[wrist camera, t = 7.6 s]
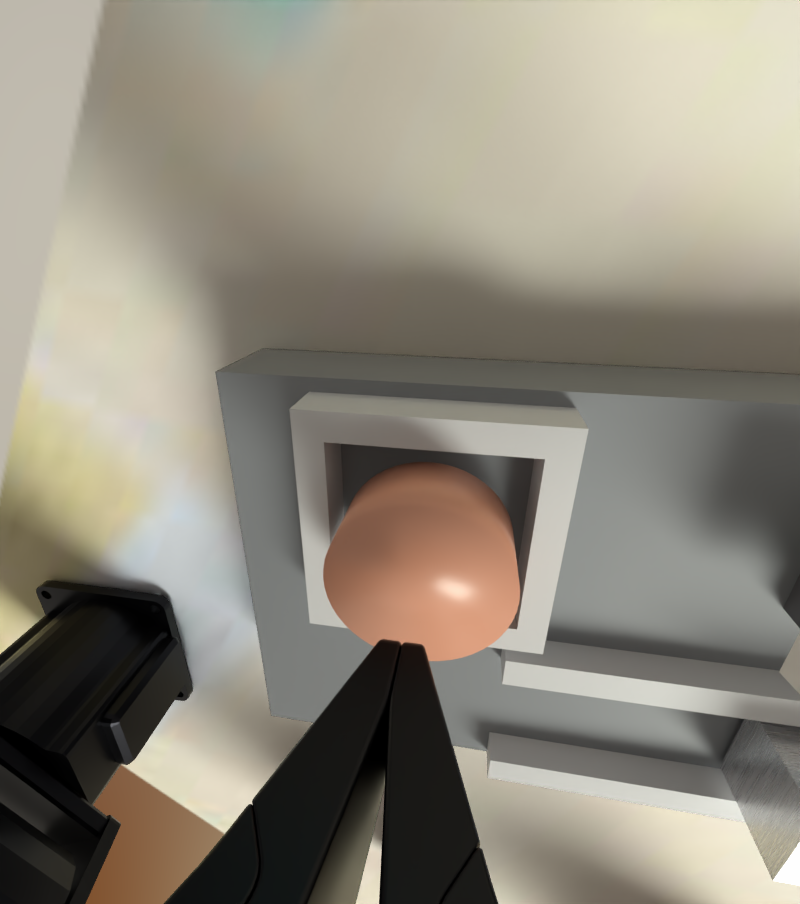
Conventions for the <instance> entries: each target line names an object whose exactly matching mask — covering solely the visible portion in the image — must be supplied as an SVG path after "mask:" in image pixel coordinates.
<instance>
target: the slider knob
mask: <svg viewBox="0 0 800 904" xmlns="http://www.w3.org/2000/svg"><path fill="white" fill-rule="evenodd" d="M720 768H721V770H722V772H723V774H724V776H725V779H726V781H727V783H728V785H729V787H730V789H731V792H732V794H733V796H734V798H735V800H736V802H737V805H738V807H739V809H740V811H741V813H742V815H743V817H744V820H745V822H746V824H747V826H748V828H749V830H750V833H751V835H752V837H753V839H754V841H755V843H756V845H757V848H758V850H759V852H760V854H761V856H762V858H763V861H764V863H765V865H766V867H767V869H768V871H769V874H770V876H771V878H772V880H773V881H777V882H783V883H788V884H793V885H799V886H800V727H797V726H790V725H783V724H776V723H769V722H762V721H755V720H748V719H744V720H743V722H742V724H741V726H740V728H739V730H738V732H737V734H736V736H735V738H734V740H733V742H732V744H731V746H730V748H729V750H728V752H727V754H726V756H725V758H724V760H723V762H722V764H721V766H720Z"/></svg>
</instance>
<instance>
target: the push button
mask: <svg viewBox="0 0 800 904" xmlns="http://www.w3.org/2000/svg"><path fill="white" fill-rule="evenodd" d="M323 581H324V587H325V591H326V594H327V597H328V600H329V602H330V604H331V606H332V608H333V609H334V611H335V613H336V614H337V616H338V617H339V618H340V619H341V621H342V622H343V623H344V624H345V625H346V626H347V627H348V628H349V629H350V630H351V631H352V632H353V633H354V634H356V635H357V636H358V637H360V638H361V639H362V640H364V641H365V642H367V643H369V644H370V645H372V646H375V645H376V644H377V642H378V641H379V640H381V639H387V640H395V641H399V642H401V644H403V643H404V642H410V643H418V644H422V645H423V646H424V647H425V650H426V653H427V657H428V660H429V661H446V660H453V659H458V658H463V657H466V656H469V655H472V654H474V653H477V652H479V651H481V650H483V649H485V648H486V647H488V646H489V645H491V644H493V643H494V642H495V641H496V640H497V639H499V638H500V637H501V636H502V635H503V634H504V632H505V631H506V630H507V629H508V627H509V626H510V624H511V623H512V621H513V619H514V617H515V615H516V613H517V609H518V605H519V600H520V585H519V576H518V568H517V559H516V551H515V543H514V535H513V527H512V523H511V519H510V516H509V514H508V512H507V509H506V508H505V506H504V504H503V503H502V501H501V499H500V498H499V497H498V496H497V495H496V493H495V492H494V491H493V490H492V489H491V488H490V487H489V486H487V485H486V484H485V483H484V482H482V481H481V480H480V479H478V478H477V477H475V476H473V475H472V474H470V473H468V472H466V471H464V470H461V469H459V468H456V467H453V466H449V465H445V464H440V463H433V462H413V463H406V464H401V465H397V466H394V467H391V468H388V469H386V470H384V471H382V472H380V473H378V474H376V475H375V476H374V477H372V478H371V479H369V480H368V481H367V482H366V483H365V484H364V485H363V486H362V487H361V488H360V489H359V491H358V492H357V493H356V495H355V496H354V498H353V500H352V502H351V504H350V506H349V508H348V510H347V512H346V514H345V516H344V518H343V520H342V522H341V524H340V526H339V528H338V530H337V532H336V534H335V536H334V538H333V540H332V542H331V544H330V546H329V549H328V551H327V554H326V557H325V561H324V567H323Z"/></svg>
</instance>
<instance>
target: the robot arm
mask: <svg viewBox="0 0 800 904" xmlns="http://www.w3.org/2000/svg"><path fill="white" fill-rule="evenodd" d="M36 592H37V595H38V598H39V600H40V602H41V605H42V607H43V610H44V612H45V614H46V616H44V617H43V618H42V619H41V620H40V621H39V622H37V623H36V624H35V625H34V626H33V627H32V628H30V629H29V630H28V631H27V632H26V633H25V634H23V635H22V636H21V637H20V638H19V639H18V640H16V641H15V642H14V643H13V644H12V645H11V646H9V647H8V648H7V649H6V650H5V651H4V652H2V653H1V654H0V904H85V903H86V901H87V899H88V897H89V894H90V892H91V890H92V888H93V885H94V883H95V881H96V879H97V877H98V874H99V872H100V870H101V868H102V866H103V863H104V861H105V859H106V857H107V855H108V852H109V850H110V848H111V846H112V843H113V841H114V839H115V837H116V835H117V832H118V830H119V828H120V825H121V823H120V822H119V821H118V820H116V819H115V818H114V817H112V816H111V815H108V816H106V815H105V814H103V813H102V812H100V811H99V810H98V809H96V808H95V807H94V806H93V804H94V803H95V801H96V800H97V799H98V797H99V796H100V794H101V793H102V791H103V790H104V788H105V787H106V785H107V784H108V782H109V781H110V780H111V778H112V777H113V775H114V774H115V772H116V771H117V769H118V768H119V767H120V765H121V764H124V765H128V764H130V763H131V762H132V761H133V760H135V758H136V757H137V755H138V754H139V752H140V751H141V749H142V748H143V746H144V745H145V743H146V742H147V740H148V739H149V737H150V736H151V734H152V733H153V731H154V730H155V728H156V727H157V725H158V724H159V722H160V721H161V719H162V718H163V716H164V715H165V713H166V712H167V710H168V709H169V707H170V706H171V704H172V703H173V701H174V700H180V701H185V700H187V699H188V697H189V696H190V694H191V693H192V691H193V687H192V683H191V680H190V676H189V672H188V668H187V664H186V661H185V657H184V653H183V649H182V645H181V642H180V638H179V634H178V630H177V626H176V623H175V619H174V615H173V611H172V607H171V604H170V602H169V601H168V600H167V599H166V598H165V597H163V596H161V595H156V594H149V593H141V592H133V591H126V590H118V589H111V588H103V587H95V586H88V585H80V584H72V583H65V582H57V581H46V582H44V583H43V584H42V585H40V586H39V587H38V588H37V590H36ZM384 787H385V793H384V814H383V835H382V856H381V877H380V898H379V904H498V901H497V898H496V895H495V892H494V888H493V885H492V882H491V879H490V875H489V872H488V868H487V865H486V861H485V858H484V854H483V851H482V849H481V848H479V847H480V841H479V837H478V834H477V830H476V827H475V823H474V820H473V816H472V813H471V809H470V805H469V802H468V798H467V795H466V791H465V788H464V784H463V781H462V777H461V774H460V770H459V767H458V763H457V759H456V756H455V752H454V749H453V745H452V742H451V738H450V735H449V731H448V728H447V724H446V721H445V717H444V713H443V710H442V706H441V703H440V699H439V696H438V692H437V689H436V685H435V682H434V678H433V675H432V671H431V667H430V664H429V660H428V657H427V653H426V650H425V647H424V646H423V645H422V644H418V643H410V642H404V643H403V644H401V642H399V641H395V640H387V639H381V640H379V641H378V642H377V644H376V645H375V646H374V647H373V649H372V650H371V651H370V652H369V654H368V655H367V656H366V657H365V659H364V660H363V661H362V662H361V664H360V665H359V666H358V667H357V669H356V670H355V671H354V672H353V674H352V675H351V676H350V678H349V679H348V680H347V681H346V683H345V684H344V685H343V686H342V688H341V689H340V690H339V691H338V693H337V694H336V695H335V696H334V698H333V699H332V700H331V701H330V703H329V704H328V705H327V707H326V708H325V709H324V710H323V712H322V713H321V714H320V715H319V717H318V718H317V719H316V720H315V722H314V723H313V724H312V725H311V727H310V728H309V729H308V730H307V732H306V733H305V734H304V736H303V737H302V738H301V739H300V741H299V742H298V743H297V744H296V746H295V747H294V748H293V749H292V751H291V752H290V753H289V754H288V756H287V757H286V758H285V759H284V761H283V762H282V763H281V764H280V766H279V767H278V768H277V770H276V771H275V772H274V773H273V775H272V776H271V777H270V778H269V780H268V781H267V782H266V783H265V785H264V786H263V787H262V788H261V790H260V791H259V792H258V793H257V795H256V796H255V797H254V799H253V801H252V803H253V806H252V804H249V805H248V806H247V807H246V808H245V809H244V811H243V812H242V813H241V815H240V816H239V817H238V818H237V820H236V821H235V822H234V823H233V825H232V826H231V827H230V828H229V830H228V831H227V832H226V833H225V834H224V836H223V837H222V838H221V839H220V841H219V842H218V843H217V844H216V846H214V848H213V849H212V850H211V851H210V852H209V854H208V855H207V856H206V857H205V858H204V860H203V861H202V862H201V863H200V864H199V866H198V867H197V868H196V869H195V870H194V871H193V872H192V873H191V874H190V875H189V876H188V878H187V879H186V880H185V881H184V882H183V883H182V884H181V885H180V887H178V889H177V890H176V891H175V892H174V893H173V894H172V895H171V896H170V897H169V898H168V899H167V901H166V902H165V903H164V904H356V900H357V896H358V892H359V887H360V883H361V879H362V875H363V871H364V867H365V863H366V859H367V855H368V851H369V847H370V843H371V839H372V835H373V831H374V827H375V823H376V819H377V815H378V811H379V807H380V803H381V799H382V795H383V791H384Z"/></svg>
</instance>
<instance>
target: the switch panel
mask: <svg viewBox="0 0 800 904" xmlns="http://www.w3.org/2000/svg"><path fill="white" fill-rule="evenodd" d="M216 378H217V384H218V390H219V397H220V403H221V409H222V415H223V421H224V427H225V434H226V440H227V446H228V452H229V458H230V464H231V471H232V477H233V483H234V489H235V495H236V501H237V508H238V514H239V520H240V526H241V532H242V538H243V545H244V551H245V557H246V563H247V569H248V575H249V582H250V588H251V594H252V600H253V606H254V612H255V619H256V625H257V631H258V637H259V643H260V649H261V655H262V662H263V668H264V674H265V680H266V686H267V692H268V699H269V705H270V711H271V716H277V717H283V718H289V719H295V720H301V721H307V722H313V723H314V722H315V720H316V719H317V718H318V717H319V715H320V714H321V713H322V712H323V710H324V709H325V708H326V707H327V705H328V704H329V703H330V701H331V700H332V699H333V698H334V696H335V695H336V694H337V693H338V691H339V690H340V689H341V688H342V686H343V685H344V684H345V683H346V681H347V680H348V679H349V678H350V676H351V675H352V674H353V672H354V671H355V670H356V669H357V667H358V666H359V665H360V664H361V662H362V661H363V660H364V659H365V657H366V656H367V655H368V654H369V652H370V651H371V650H372V649H373V647H374V646H372V645H370V644H369V643H367V642H365V641H364V640H362V639H361V638H360V637H358V636H357V635H356V634H354V633H353V632H352V631H351V630H350V629H349V628H348V627H347V626H346V625H345V624H344V623H343V622H342V621H341V619H340V618H339V617H338V616H337V614H336V613H335V611H334V609H333V608H332V606H331V604H330V602H329V600H328V597H327V594H326V591H325V587H324V581H323V567H324V561H325V557H326V554H327V551H328V549H329V546H330V544H331V542H332V540H333V538H334V536H335V534H336V532H337V530H338V528H339V526H340V524H341V522H342V520H343V518H344V516H345V514H346V512H347V510H348V508H349V506H350V504H351V502H352V500H353V498H354V496H355V495H356V493H357V492H358V491H359V489H360V488H361V487H362V486H363V485H364V484H365V483H366V482H367V481H368V480H369V479H371V478H372V477H374V476H375V475H376V474H378V473H380V472H382V471H384V470H386V469H388V468H391V467H394V466H397V465H401V464H406V463H413V462H433V463H440V464H445V465H449V466H453V467H456V468H459V469H461V470H464V471H466V472H468V473H470V474H472V475H473V476H475V477H477V478H478V479H480V480H481V481H482V482H484V483H485V484H486V485H487V486H489V487H490V488H491V489H492V490H493V491H494V492H495V493H496V495H497V496H498V497H499V498H500V499H501V501H502V503H503V504H504V506H505V508H506V509H507V512H508V514H509V516H510V519H511V523H512V527H513V535H514V543H515V551H516V559H517V568H518V576H519V585H520V600H519V605H518V609H517V613H516V615H515V617H514V619H513V621H512V623H511V624H510V626H509V627H508V629H507V630H506V631H505V632H504V634H503V635H502V636H501V637H500V638H499V639H497V640H496V641H495V642H494V643H493V644H491V645H489V646H488V647H486V648H485V649H483V650H481V651H479V652H477V653H474V654H472V655H469V656H466V657H463V658H458V659H453V660H446V661H429V664H430V667H431V671H432V675H433V678H434V682H435V685H436V689H437V692H438V696H439V699H440V703H441V706H442V710H443V713H444V717H445V721H446V724H447V728H448V731H449V735H450V738H451V742H452V745H453V746H459V747H465V748H471V749H477V750H483V751H487V778H491V779H497V780H503V781H508V782H514V783H520V784H526V785H532V786H537V787H543V788H549V789H555V790H560V791H566V792H572V793H578V794H584V795H589V796H595V797H601V798H607V799H613V800H618V801H624V802H630V803H636V804H641V805H647V806H653V807H659V808H665V809H670V810H676V811H682V812H688V813H694V814H699V815H705V816H711V817H717V818H722V819H728V820H734V821H740V822H745V820H744V817H743V815H742V813H741V811H740V809H739V807H738V805H737V802H736V800H735V798H734V796H733V794H732V792H731V789H730V787H729V785H728V783H727V781H726V779H725V776H724V774H723V772H722V770H721V768H720V766H721V764H722V762H723V760H724V758H725V756H726V754H727V752H728V750H729V748H730V746H731V744H732V742H733V740H734V738H735V736H736V734H737V732H738V730H739V728H740V726H741V724H742V722H743V720H744V719H748V720H755V721H762V722H769V723H776V724H783V725H790V726H797V727H800V694H799V693H798V692H797V691H796V690H795V689H794V688H793V686H792V685H791V684H790V683H789V682H788V681H787V680H786V679H785V678H784V677H783V676H782V675H781V674H780V673H779V671H780V669H781V667H782V665H783V663H784V661H785V659H786V658H787V656H788V654H789V652H790V650H791V648H792V646H793V644H794V642H795V640H796V638H797V636H798V635H799V633H800V375H799V374H779V373H758V372H737V371H716V370H695V369H675V368H654V367H633V366H612V365H592V364H571V363H550V362H529V361H509V360H488V359H467V358H446V357H426V356H405V355H384V354H363V353H343V352H322V351H301V350H280V349H261V350H259V351H257V352H255V353H253V354H251V355H249V356H247V357H245V358H243V359H241V360H239V361H237V362H235V363H232V364H230V365H228V366H226V367H224V368H222V369H220V370H218V371H216Z"/></svg>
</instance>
